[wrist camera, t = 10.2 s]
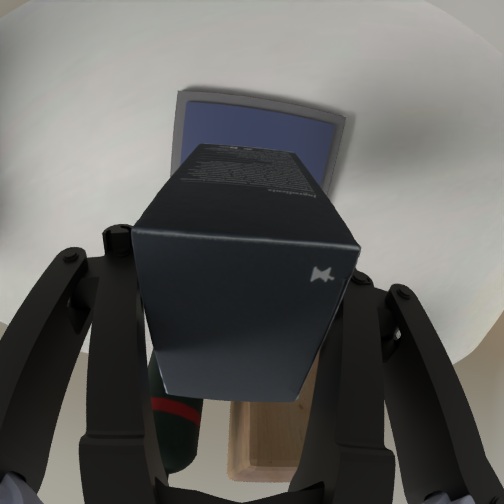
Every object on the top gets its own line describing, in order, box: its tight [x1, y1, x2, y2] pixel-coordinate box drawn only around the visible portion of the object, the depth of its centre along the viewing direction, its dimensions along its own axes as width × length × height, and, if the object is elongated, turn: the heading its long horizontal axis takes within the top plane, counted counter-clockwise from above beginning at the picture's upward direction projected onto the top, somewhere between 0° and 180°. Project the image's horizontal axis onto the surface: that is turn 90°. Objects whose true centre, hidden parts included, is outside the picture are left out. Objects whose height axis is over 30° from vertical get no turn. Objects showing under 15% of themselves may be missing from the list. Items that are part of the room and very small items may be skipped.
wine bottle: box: [148, 348, 203, 480], centre depth 25 cm, size 8×10×30 cm
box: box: [131, 143, 361, 402], centre depth 12 cm, size 8×6×11 cm
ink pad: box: [170, 91, 346, 196], centre depth 24 cm, size 15×13×1 cm
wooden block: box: [227, 351, 320, 482], centre depth 30 cm, size 10×10×20 cm
